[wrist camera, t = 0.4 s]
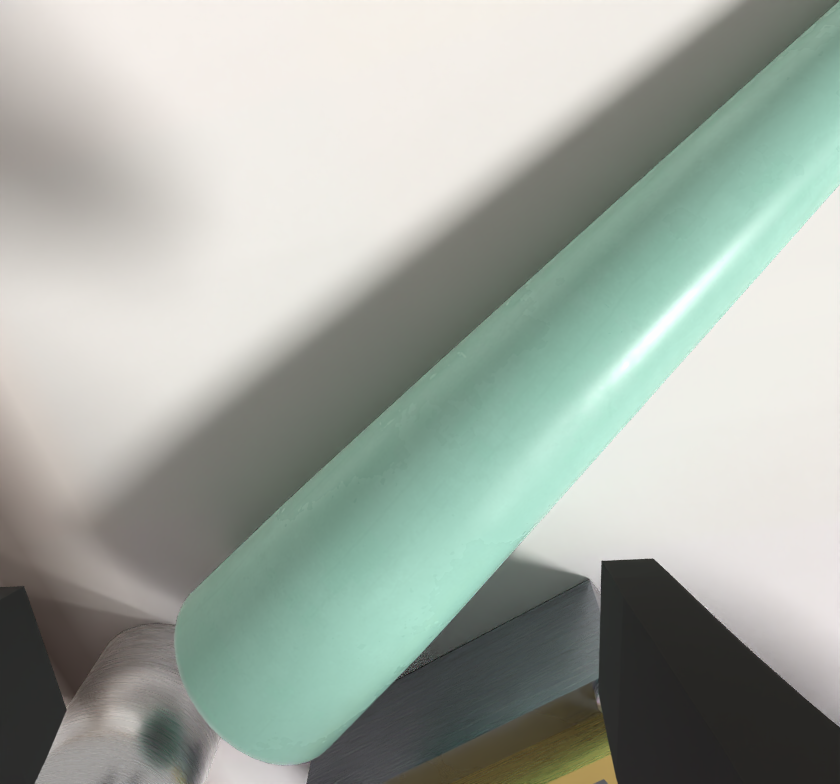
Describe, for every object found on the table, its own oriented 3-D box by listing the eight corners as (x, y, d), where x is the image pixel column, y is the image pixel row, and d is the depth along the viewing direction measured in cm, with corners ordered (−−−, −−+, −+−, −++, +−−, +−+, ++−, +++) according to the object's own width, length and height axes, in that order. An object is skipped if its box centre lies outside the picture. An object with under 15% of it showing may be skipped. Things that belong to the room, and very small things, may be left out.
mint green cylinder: (1691, -286, 8) (326, 809, 16) (1220, -132, 14) (353, 644, 21) (1529, -722, 7) (136, 688, 15) (1077, -372, 12) (213, 544, 20)
